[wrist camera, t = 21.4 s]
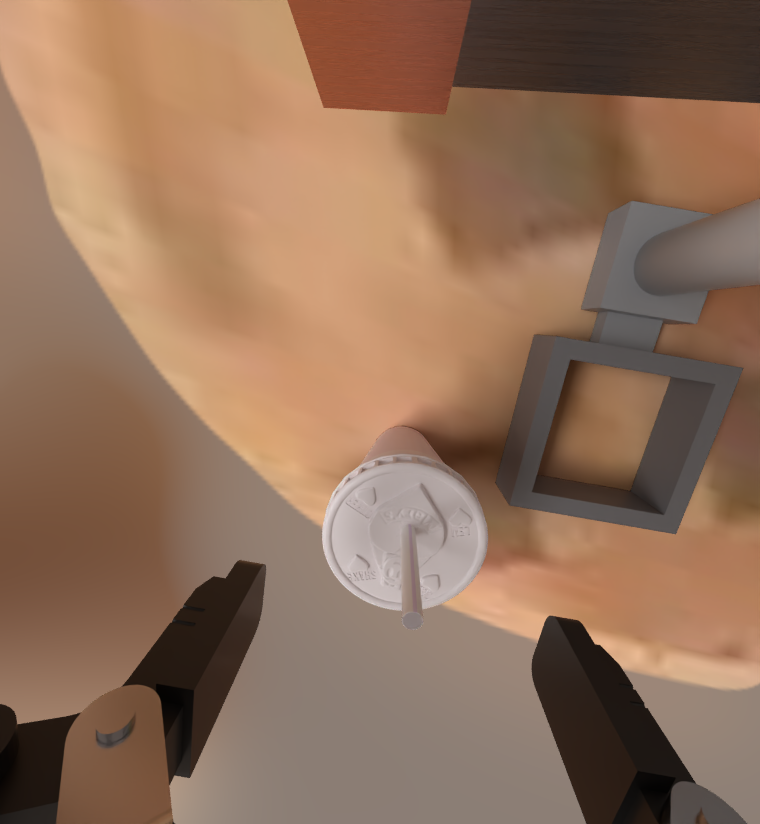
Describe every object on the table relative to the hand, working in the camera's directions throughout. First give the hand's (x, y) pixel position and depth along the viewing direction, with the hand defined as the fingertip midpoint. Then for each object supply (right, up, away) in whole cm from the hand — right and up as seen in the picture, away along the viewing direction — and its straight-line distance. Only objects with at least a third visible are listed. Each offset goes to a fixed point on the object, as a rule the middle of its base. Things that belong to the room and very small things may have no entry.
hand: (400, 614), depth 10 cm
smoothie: (+1, +3, +13) cm, 13 cm away
